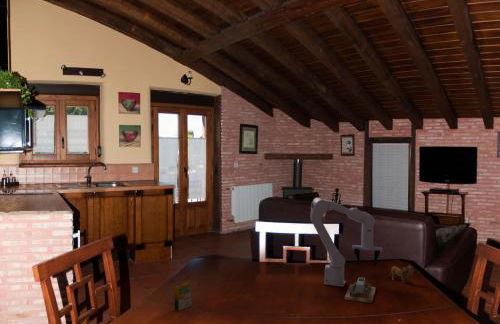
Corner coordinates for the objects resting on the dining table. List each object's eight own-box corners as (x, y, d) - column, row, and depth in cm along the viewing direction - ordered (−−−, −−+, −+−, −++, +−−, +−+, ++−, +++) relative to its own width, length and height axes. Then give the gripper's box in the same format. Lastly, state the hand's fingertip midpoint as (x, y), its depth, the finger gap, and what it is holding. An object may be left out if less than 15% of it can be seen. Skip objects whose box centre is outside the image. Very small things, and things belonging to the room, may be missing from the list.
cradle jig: (344, 299, 191) (344, 292, 191) (350, 286, 208) (350, 280, 207) (372, 303, 186) (372, 296, 186) (375, 289, 203) (375, 283, 203)
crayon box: (187, 304, 184) (186, 277, 184) (191, 305, 183) (191, 279, 182) (174, 309, 179) (174, 282, 178) (178, 311, 177) (178, 283, 176)
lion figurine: (415, 283, 212) (416, 265, 212) (409, 285, 209) (410, 267, 209) (389, 276, 224) (390, 259, 223) (383, 278, 221) (384, 261, 220)
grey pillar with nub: (355, 294, 192) (356, 282, 192) (358, 287, 202) (358, 275, 201) (362, 295, 191) (362, 283, 191) (364, 288, 201) (365, 276, 200)
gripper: (351, 238, 210) (351, 265, 211) (381, 241, 205) (381, 268, 206) (353, 235, 217) (352, 261, 217) (382, 237, 212) (382, 264, 212)
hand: (366, 264), depth 212 cm, fingers open, 7 cm apart
